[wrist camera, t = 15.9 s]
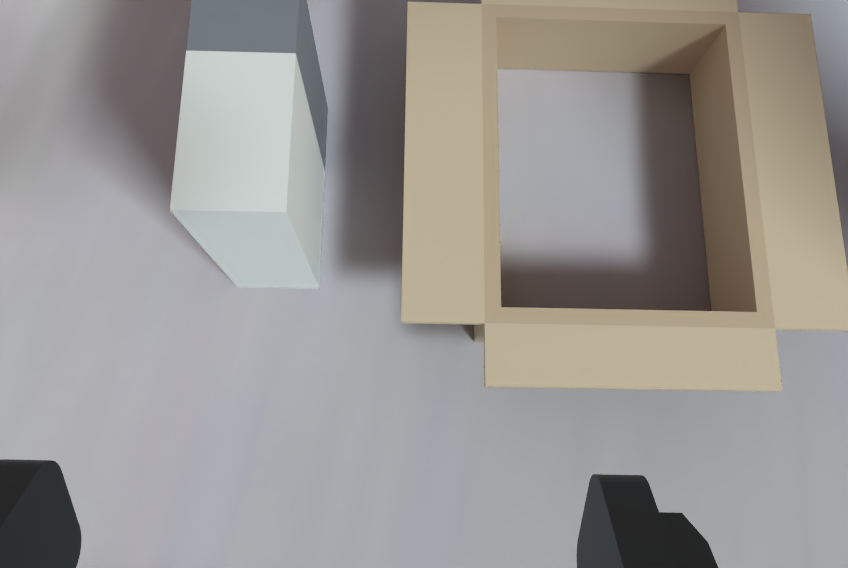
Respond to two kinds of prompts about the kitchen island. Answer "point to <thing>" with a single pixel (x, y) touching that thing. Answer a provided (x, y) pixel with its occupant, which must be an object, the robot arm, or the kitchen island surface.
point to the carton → (718, 177)
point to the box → (253, 141)
